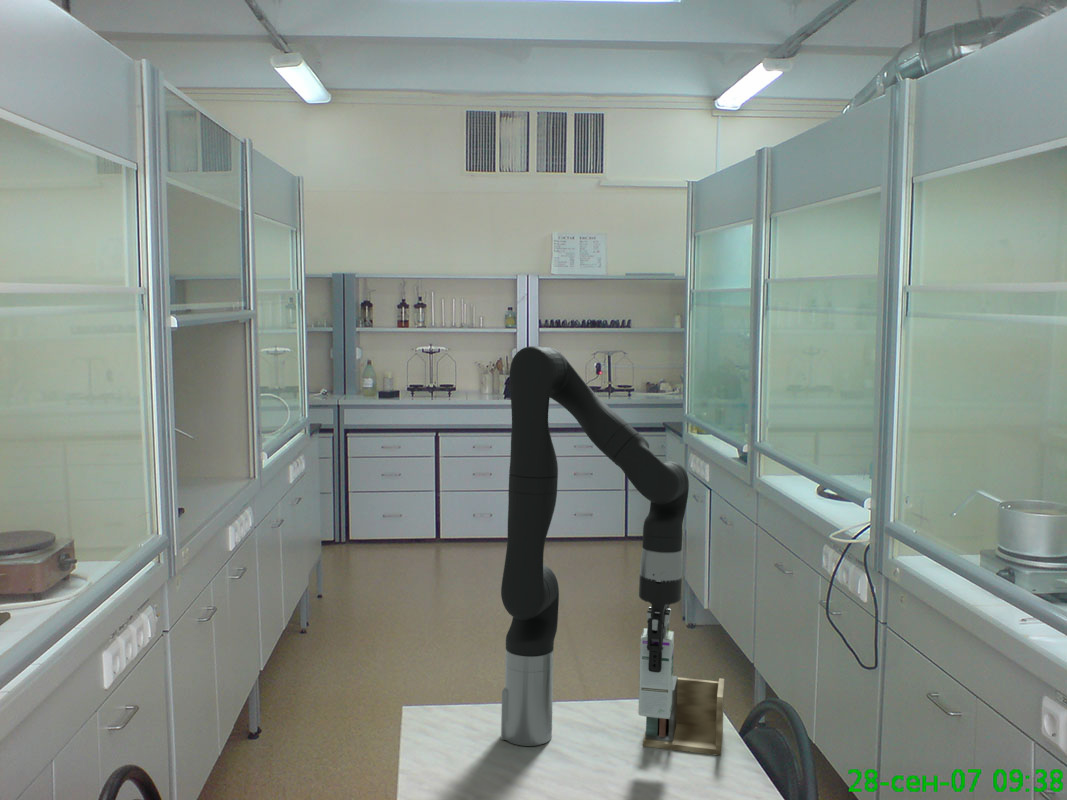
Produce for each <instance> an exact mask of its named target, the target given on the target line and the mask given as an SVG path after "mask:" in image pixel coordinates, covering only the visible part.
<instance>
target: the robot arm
mask: <svg viewBox="0 0 1067 800" xmlns="http://www.w3.org/2000/svg"><path fill="white" fill-rule="evenodd" d="M509 389H510V390H509V391H510V405H511V406H510V407H511V432H510V433H511V434H510V454H509V455H510V459H509V472H508V493H507V494H508V501H507V502H508V504H507V505H508V507H507V511H508V512H507V540H506V542H507V543H506V553H505V559H504V567H503V573H502V578H501V579H502V580H501V588H500V594H501V595H500V596H501V601H502V604H503V607H504V609H505V610H506V612H507V613H508V614H509V615H510V616H511V617H512V620H511V623H510V626H509V628H508V630H507V633H506V636H505V666H504V667H505V669H504V670H505V672H504V674H505V675H504V688H503V689H502V690H501V721H500V723H501V724H500V725H501V726H500V730H501V733H500V734H501V735H500V740H502V741H504V740H505V741H507V742H509V743H511V744H514V745H517V746H524V747H534V746H541V745H543V744H546V743H548V742H549V741H550V740H551V739H552V738H553V737H552V735H553V691H554V689H553V687H554V686H553V685H554V643H555V638H556V634H557V631H558V621H559V602H560V599H559V598H560V593H559V592H560V590H559V583H558V578H557V577H556V575H555V573H554V571H553V570H552V569H551V568H549V567H548V566H547V565H545V564H544V552H545V551H544V550H545V544H546V540H547V536H548V532H549V529H550V525H551V523H552V519H553V516H554V512H555V508H556V503H557V495H558V481H559V479H558V478H559V477H558V475H559V467H558V466H559V465H558V459H557V454H556V451H555V447H554V444H553V440H552V437H551V432H550V427H549V411H550V410H549V409H550V399H552V400H553V401H555V402H556V403H558V404H559V405H561V406H562V407H563V408H565V410H566V411H568V412H569V413H570V414H571V416H573V417H574V419H575V420H576V421H577V422H578V424H579V425H580V427H581V428H582V430H583V431H584V433H585V434H586V435H587V437H588V438H589V440H590V441H591V442H592V443H593V445H594V446H596V447H597V449H598V450H600V452H602V453H603V454H604V455H605V456H606V457H607V458H608V459H610V461H611V462H613V464H615V465H616V466H618V468H619V469H621V470H622V472H623V473H624V475H625V476H626V478H627V479H628V480H629V481H630V483H631V484H632V485H633V487H634V488H635V489H636V490H637V491H638V493H640V494H641V495H642V497H644V498H645V499H647V500H649V502H650V504H649V512H648V514H647V516H646V518H645V519H644V522H643V526H642V527H643V528H642V548H641V554H640V559H639V560H640V561H639V581H638V582H639V584H638V596H639V598H640V600H642V601H643V602H646V603H650V604H651V606H648V610H647V611H646V620H647V623H646V624H647V627H646V628H647V636H648V642H647V650H648V651H649V668H648V669H649V671H650V672H657V673H659V672H660V671H661V665H662V651H663V640H664V639H665V638H666V637H667V631H668V630H670V619H671V616H672V608H670V605H673V604H677V603H679V602H680V601H681V599H682V585H683V583H682V582H683V552H682V550H683V525H684V524H683V523H684V517H685V513H686V509H687V505H688V504H687V503H688V498H689V491H690V489H689V487H690V482H689V475H688V473H687V471H686V469H685V468H684V467H683V466H682V465H681V464H680V463H678V462H674V461H670V460H669V461H661V460H660V458H658V457H657V456H656V454H654V453H653V452H652V451H651V450H650V444H649V442H648V441H647V440H646V438H645V437H644V436H643V435H642V434H640V433H639V432H638V431H637V430H636V429H635V428H634V427H632V425H630V424H629V423H628V422H627V421H626V420H624V418H622V417H621V416H620V415H619V414H617V412H616V411H614V410H613V409H612V408H611V407H610V406H609V405H608V404H606V402H605V401H604V400H603V399H601V398H600V396H599V395H597V394H596V392H595V391H593V390H592V388H591V387H590V386H589V385H588V384H587V382H586V381H585V380H584V379H583V378H582V377H581V376H580V375H579V373H578V372H577V371H576V370H575V368H574V367H573V366H572V365H571V363H570V362H569V361H568V359H567V358H566V357H565V356H564V355H563V354H562V353H561V352H560V351H559V350H557V349H555V348H553V347H549V346H538V345H537V346H536V345H535V346H526V347H523V348H521V349H519V351H517V352H516V354H515V355H514V356H513V359H512V360H511V362H510V368H509ZM662 632H663V633H662ZM652 639H658V640H659V644H652Z"/></svg>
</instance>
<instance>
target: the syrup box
mask: <svg viewBox="0 0 1067 800" xmlns="http://www.w3.org/2000/svg"><path fill="white" fill-rule="evenodd" d="M662 633H663V632H662ZM674 638H675V631H673V630H670V629H669V630H668V631H667V637H666V638H665V639H664V640H663V651H662V665H661V671H660V672H659V673H657V672H650V671H649V669H648V668H649V651H648V650H647V642H648V636H647V627H646V628H645V627H644V628H643V631H642V633H641V636H640V645H639V646H640V649H639V674H638V675H639V683H638V685H639V686H638V688H639V689H638V716H641V717H653V718H663V719H670V715H671V710H672V688H673V676H674V648H675V647H674V644H675V639H674ZM652 644H659V640H658V639H652Z"/></svg>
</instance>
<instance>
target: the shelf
mask: <svg viewBox="0 0 1067 800" xmlns="http://www.w3.org/2000/svg"><path fill="white" fill-rule="evenodd" d="M724 704H725V678H720V677H719V679H718V681H716V680H706V679H696V678H688V677H687V678H686V677H679V676H678V675H673V688H672V710H671V715H670V719H663V718H653V717H646V716H645V717H646V718H645V719H646V722H645V733H644V735H643V740H642V747H648V748H655V749H656V748H657V749H665V750H671V749H672V750H674V751H680V750H681V752H688V751H690V752H689V753H696V752H698V754H705V753H706V755H713V754H717V755H716V756H721V755H722V747H723V746H722V745H723V737H724V736H723V735H724V734H723V733H724V707H725V705H724ZM672 750H671V751H672Z"/></svg>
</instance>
